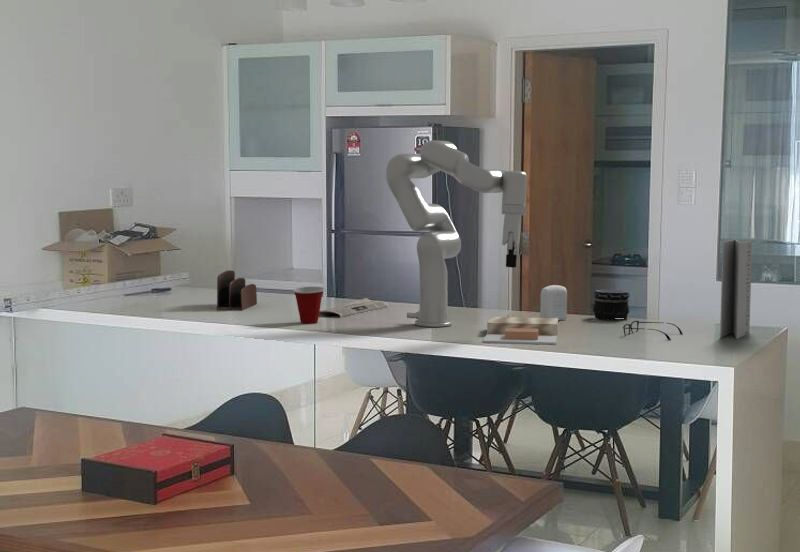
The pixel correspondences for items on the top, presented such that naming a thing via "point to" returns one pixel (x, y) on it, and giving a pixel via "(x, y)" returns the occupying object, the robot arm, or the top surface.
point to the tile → (522, 333)
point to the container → (611, 304)
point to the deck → (523, 324)
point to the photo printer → (553, 302)
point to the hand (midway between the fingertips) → (510, 266)
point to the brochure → (736, 288)
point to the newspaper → (354, 308)
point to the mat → (501, 339)
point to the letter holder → (234, 292)
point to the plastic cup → (309, 303)
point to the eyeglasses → (649, 329)
